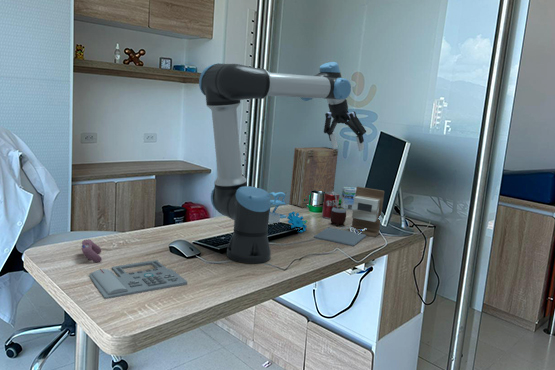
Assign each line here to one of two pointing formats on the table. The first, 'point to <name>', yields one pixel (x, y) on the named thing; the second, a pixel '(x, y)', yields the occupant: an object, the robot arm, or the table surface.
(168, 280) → the office telephone
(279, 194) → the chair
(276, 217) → the steel block
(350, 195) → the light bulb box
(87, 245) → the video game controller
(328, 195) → the soda can
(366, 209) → the mounted unit
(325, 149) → the book
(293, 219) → the gear
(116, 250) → the table surface
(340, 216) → the mate gourd
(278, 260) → the table surface
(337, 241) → the mat
